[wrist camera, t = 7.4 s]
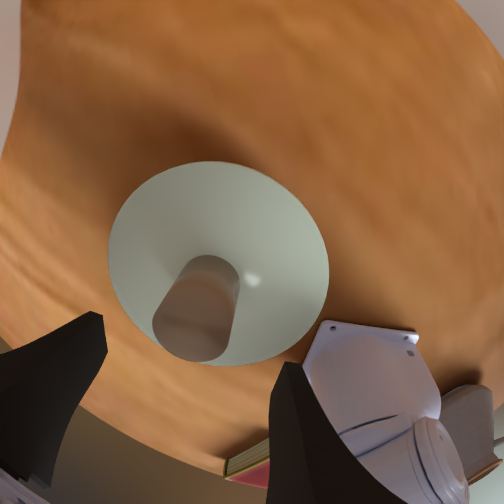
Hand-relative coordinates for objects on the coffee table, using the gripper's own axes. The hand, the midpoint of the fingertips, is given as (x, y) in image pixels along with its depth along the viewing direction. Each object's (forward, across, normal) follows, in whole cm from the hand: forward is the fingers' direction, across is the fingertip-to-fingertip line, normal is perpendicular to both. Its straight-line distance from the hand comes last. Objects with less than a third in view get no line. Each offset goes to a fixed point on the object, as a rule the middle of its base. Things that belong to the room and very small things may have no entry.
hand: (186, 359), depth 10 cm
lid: (+5, 0, -1) cm, 5 cm away
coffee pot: (+10, -34, +10) cm, 37 cm away
